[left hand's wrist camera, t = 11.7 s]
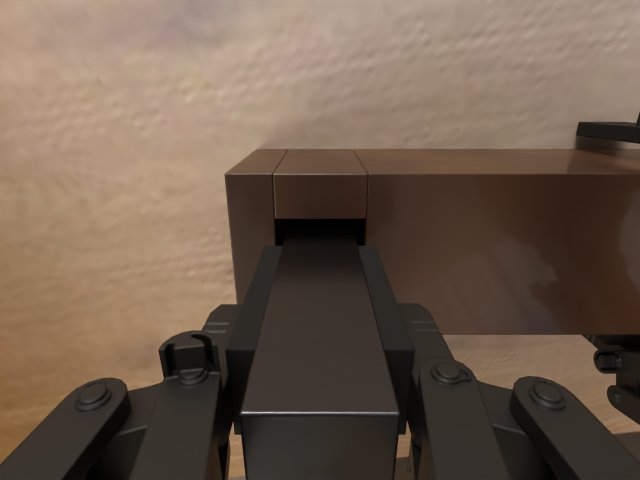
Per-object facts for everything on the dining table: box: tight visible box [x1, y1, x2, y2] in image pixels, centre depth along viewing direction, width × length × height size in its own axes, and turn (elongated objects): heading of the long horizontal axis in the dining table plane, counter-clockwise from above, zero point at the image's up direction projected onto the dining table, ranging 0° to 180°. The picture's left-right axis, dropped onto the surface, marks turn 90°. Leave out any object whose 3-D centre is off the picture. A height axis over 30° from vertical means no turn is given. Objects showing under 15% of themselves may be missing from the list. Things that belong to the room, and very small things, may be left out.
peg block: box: [225, 149, 640, 335], centre depth 20 cm, size 24×8×8 cm, turn 90°
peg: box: [239, 219, 401, 480], centre depth 13 cm, size 3×3×12 cm
